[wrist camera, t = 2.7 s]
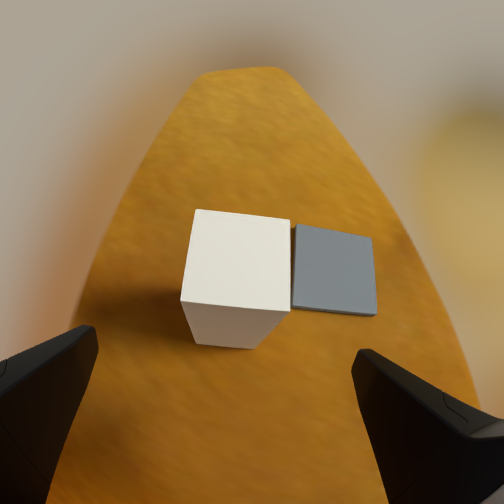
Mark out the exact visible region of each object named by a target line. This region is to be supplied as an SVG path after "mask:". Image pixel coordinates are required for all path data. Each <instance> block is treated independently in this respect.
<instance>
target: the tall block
mask: <svg viewBox="0 0 504 504" xmlns="http://www.w3.org/2000/svg"><path fill="white" fill-rule="evenodd" d="M180 302H181V304H182V307H183V310H184V313H185V316H186V318H187V321H188V324H189V327H190V329H191V332H192V335H193V337H194V340H195V342H196V344H203V345H213V346H222V347H233V348H245V349H254V348H255V347H256V346H257V345H258V344H259V343H260V342H261V341H262V340H263V339H264V338H265V337H266V336H267V335H268V334H269V333H270V332H271V331H272V330H273V329H274V328H275V327H276V326H277V325H278V324H279V323H280V322H281V321H282V319H283V318H284V317H285V316H286V315H287V314H288V313H289V312H290V220H286V219H279V218H271V217H263V216H254V215H246V214H237V213H228V212H219V211H210V210H200V209H196V212H195V217H194V222H193V227H192V232H191V238H190V243H189V249H188V255H187V261H186V267H185V273H184V279H183V285H182V292H181V298H180Z"/></svg>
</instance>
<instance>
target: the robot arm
mask: <svg viewBox="0 0 504 504" xmlns="http://www.w3.org/2000/svg"><path fill="white" fill-rule="evenodd" d="M98 350H99V346H98V341H97V335H96V330H95V328H94V327H93V326H89V325H81V326H79V327H77V328H74V329H72V330H70V331H68V332H66V333H63V334H61V335H59V336H57V337H54V338H52V339H50V340H48V341H45V342H43V343H41V344H39V345H36V346H35V347H32V348H30V349H27V350H25V351H23V352H21V353H19V354H16V355H14V356H12V357H10V358H8V359H5V360H3V361H1V362H0V504H45V503H46V500H47V496H48V493H49V489H50V485H51V482H52V479H53V476H54V472H55V469H56V466H57V463H58V460H59V457H60V455H61V452H62V449H63V446H64V443H65V441H66V438H67V435H68V433H69V430H70V428H71V425H72V422H73V420H74V417H75V415H76V412H77V410H78V408H79V405H80V403H81V400H82V398H83V396H84V393H85V391H86V389H87V386H88V383H89V380H90V376H91V373H92V370H93V367H94V364H95V361H96V358H97V355H98ZM351 373H352V378H353V382H354V387H355V391H356V396H357V400H358V405H359V408H360V412H361V415H362V418H363V421H364V424H365V427H366V430H367V433H368V436H369V439H370V442H371V445H372V448H373V452H374V455H375V458H376V461H377V465H378V468H379V471H380V475H381V478H382V481H383V485H384V488H385V492H386V495H387V499H388V502H389V504H504V419H500V418H496V417H494V416H491V415H489V414H487V413H485V412H483V411H480V410H478V409H476V408H474V407H472V406H470V405H468V404H466V403H463V402H461V401H460V400H458V399H456V398H454V397H452V396H450V395H449V394H447V393H445V392H442V390H440V389H438V388H436V387H435V386H433V385H431V384H429V383H428V382H426V381H424V380H422V379H421V378H419V377H417V376H416V375H414V374H412V373H410V372H409V371H407V370H405V369H404V368H402V367H400V366H399V365H397V364H395V363H394V362H392V361H390V360H388V359H387V358H385V357H383V356H382V355H380V354H378V353H377V352H375V351H373V350H372V349H360V350H359V351H358V352H357V355H356V358H355V360H354V363H353V365H352V369H351Z"/></svg>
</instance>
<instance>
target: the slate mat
mask: <svg viewBox="0 0 504 504" xmlns="http://www.w3.org/2000/svg"><path fill="white" fill-rule="evenodd" d="M291 308H298V309H307V310H316V311H325V312H334V313H344V314H354V315H365V316H375V315H376V314H377V301H376V284H375V270H374V259H373V249H372V240H371V238H369V237H364V236H359V235H354V234H349V233H344V232H339V231H334V230H328V229H323V228H317V227H312V226H306V225H301V224H296V226H295V238H294V261H293V281H292V298H291Z"/></svg>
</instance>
